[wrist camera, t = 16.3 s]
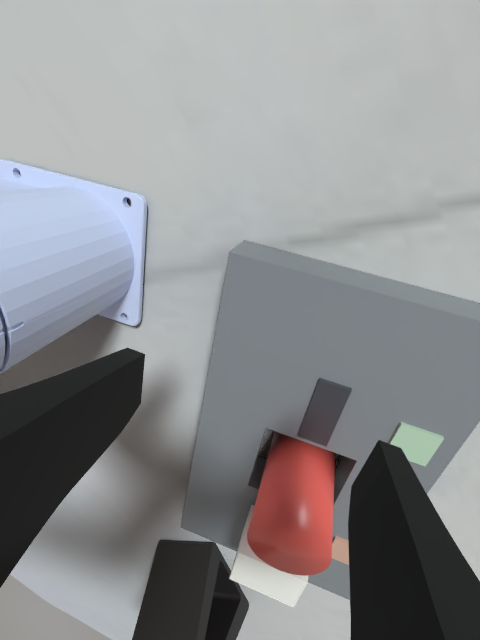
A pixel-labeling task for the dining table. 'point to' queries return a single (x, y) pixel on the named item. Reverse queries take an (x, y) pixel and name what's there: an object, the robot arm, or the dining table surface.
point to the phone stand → (190, 595)
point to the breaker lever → (265, 573)
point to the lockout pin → (294, 508)
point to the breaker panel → (327, 384)
